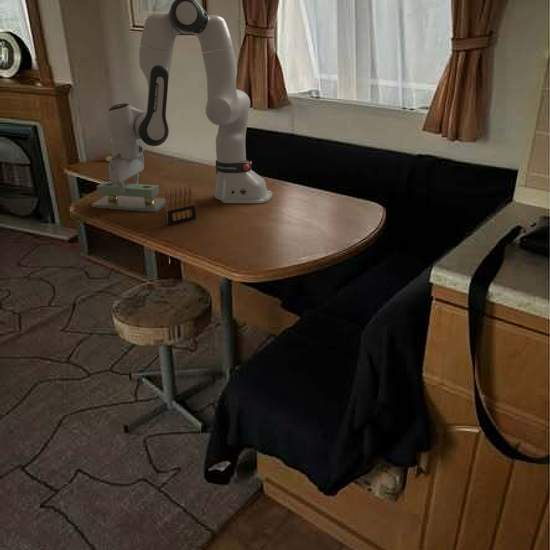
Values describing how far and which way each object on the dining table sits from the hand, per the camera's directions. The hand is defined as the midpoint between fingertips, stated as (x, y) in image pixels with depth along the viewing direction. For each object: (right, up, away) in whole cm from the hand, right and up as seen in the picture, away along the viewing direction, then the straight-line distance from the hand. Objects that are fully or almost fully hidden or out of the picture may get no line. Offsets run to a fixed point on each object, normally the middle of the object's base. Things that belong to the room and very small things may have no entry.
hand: (129, 188), depth 200 cm
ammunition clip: (+22, -14, -14) cm, 29 cm away
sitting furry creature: (-23, +24, +64) cm, 72 cm away
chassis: (0, -5, +3) cm, 6 cm away
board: (-1, -2, +1) cm, 2 cm away
